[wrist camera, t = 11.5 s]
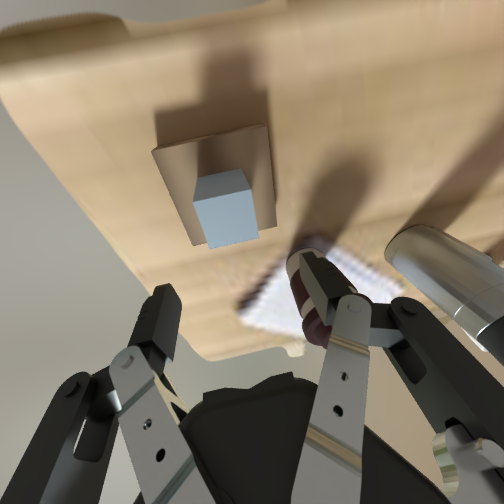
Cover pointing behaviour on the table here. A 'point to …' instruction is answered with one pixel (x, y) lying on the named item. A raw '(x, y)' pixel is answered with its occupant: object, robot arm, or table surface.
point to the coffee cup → (311, 319)
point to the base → (217, 161)
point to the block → (225, 208)
